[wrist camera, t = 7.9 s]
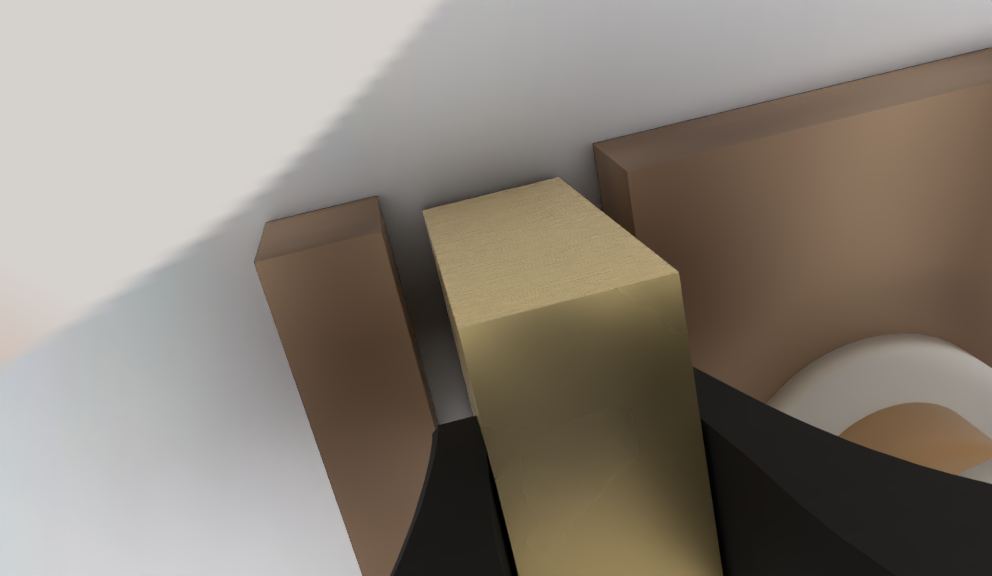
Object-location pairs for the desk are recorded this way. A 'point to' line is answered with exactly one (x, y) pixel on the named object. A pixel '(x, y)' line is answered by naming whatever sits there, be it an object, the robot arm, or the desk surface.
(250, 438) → the desk surface
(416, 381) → the notched board
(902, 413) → the bobbin
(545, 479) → the brass tab
